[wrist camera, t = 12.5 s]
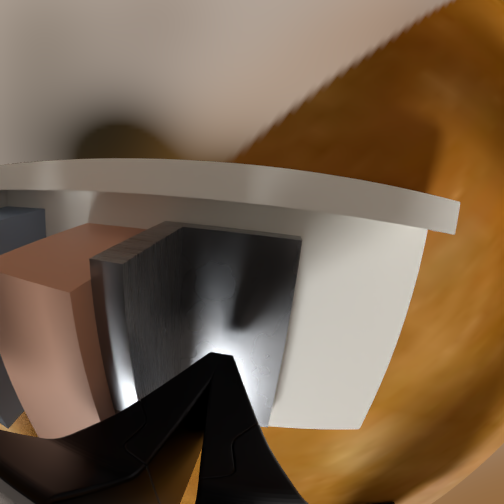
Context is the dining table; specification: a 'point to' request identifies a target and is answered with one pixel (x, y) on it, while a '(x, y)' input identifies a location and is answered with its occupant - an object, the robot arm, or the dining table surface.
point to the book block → (56, 329)
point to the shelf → (266, 220)
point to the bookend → (194, 306)
